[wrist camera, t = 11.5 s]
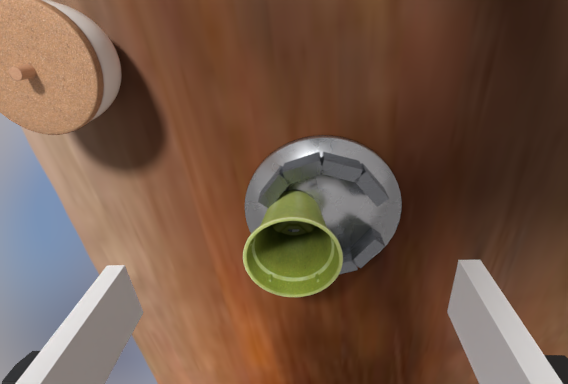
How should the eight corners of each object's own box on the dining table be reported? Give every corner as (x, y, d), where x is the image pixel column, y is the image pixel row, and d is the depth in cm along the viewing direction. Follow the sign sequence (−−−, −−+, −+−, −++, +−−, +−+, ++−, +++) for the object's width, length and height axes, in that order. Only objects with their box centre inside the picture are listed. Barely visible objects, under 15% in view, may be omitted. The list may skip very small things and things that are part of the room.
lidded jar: (130, 129, 37) (78, 160, 29) (30, 90, 36) (-54, 111, 27) (149, 28, 32) (94, 31, 24) (36, -21, 31) (-65, -36, 23)
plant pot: (335, 174, 37) (344, 216, 29) (334, 244, 41) (342, 297, 33) (250, 177, 37) (237, 219, 30) (258, 246, 42) (248, 298, 34)
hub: (320, 99, 34) (321, 107, 31) (432, 206, 39) (443, 222, 36) (216, 210, 41) (208, 226, 38) (322, 290, 46) (323, 309, 43)
